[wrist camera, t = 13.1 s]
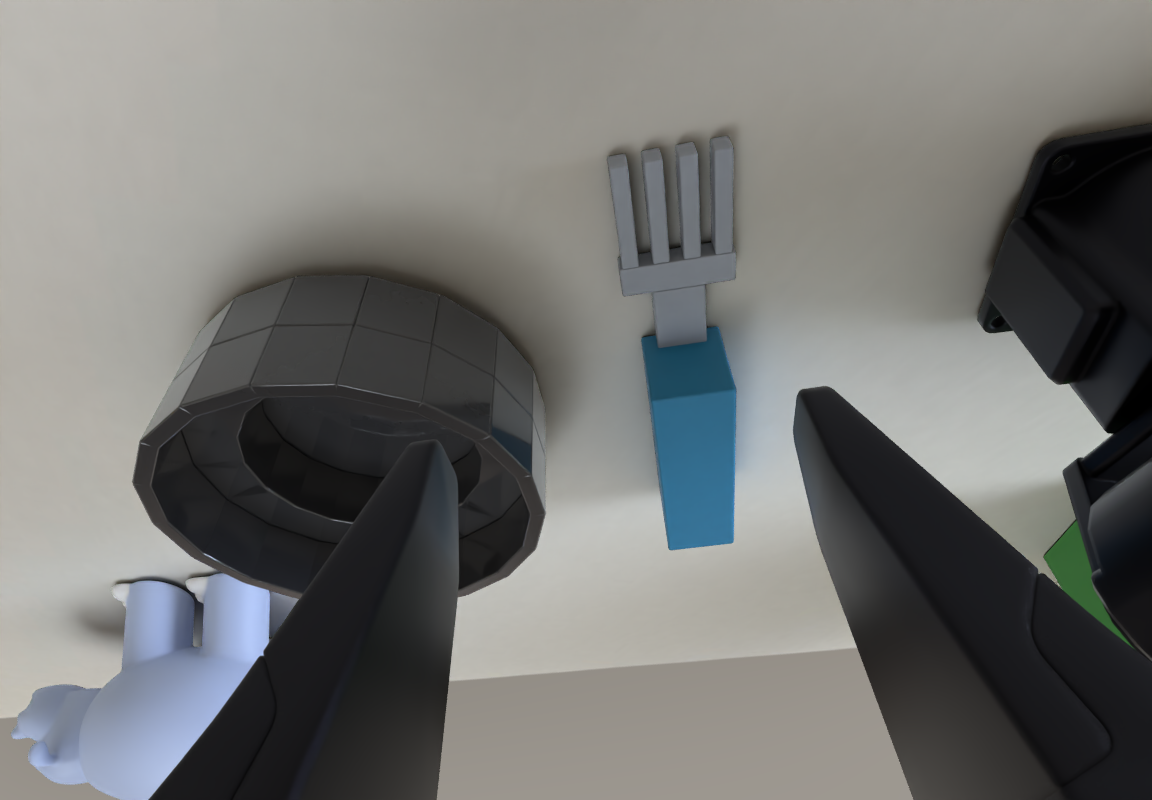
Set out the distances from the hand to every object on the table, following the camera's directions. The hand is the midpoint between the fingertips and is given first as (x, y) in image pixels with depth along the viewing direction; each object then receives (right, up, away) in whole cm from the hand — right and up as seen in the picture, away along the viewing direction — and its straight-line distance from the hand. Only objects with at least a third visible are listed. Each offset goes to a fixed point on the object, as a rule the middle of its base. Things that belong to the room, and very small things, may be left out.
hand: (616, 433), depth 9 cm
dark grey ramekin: (-8, 0, +15) cm, 16 cm away
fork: (+3, +2, +13) cm, 14 cm away
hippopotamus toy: (-21, -12, +27) cm, 36 cm away
